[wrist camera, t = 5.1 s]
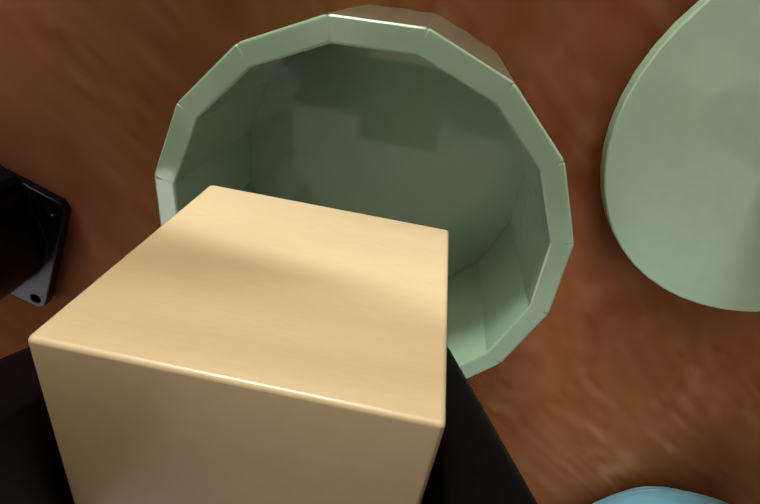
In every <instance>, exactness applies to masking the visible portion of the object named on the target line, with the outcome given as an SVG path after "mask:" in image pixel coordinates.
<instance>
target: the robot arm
mask: <svg viewBox="0 0 760 504" xmlns="http://www.w3.org/2000/svg"><path fill="white" fill-rule="evenodd" d="M55 206H56V207H57V208H58V210H59V211H58V210H57V209H56V208H55ZM70 214H71V208H70V205H69V203H68V202H67V201H66V200H65V199H63V198H62V197H60V196H58V195H56V194H54V193H53V192H51V191H49V190H47V189H45V188H43V187H41V186H39V185H37V184H35V183H33V182H31V181H30V180H28V179H26V178H24V177H22V176H20V175H18V174H16V173H14V172H12V171H10V170H8V169H7V168H5V167H3V166H1V165H0V300H1V299H3V298H4V297H5V296H7V295H8V294H11V295H14V296H16V297H18V298H20V299H22V300H24V301H26V302H28V303H30V304H32V305H34V306H37V307H43V306H45V305H46V304H47V303H48V302H50V301H51V299H52V295H53V290H54V286H55V281H56V277H57V272H58V268H59V263H60V259H61V254H62V250H63V245H64V241H65V236H66V232H67V227H68V223H69V218H70ZM0 504H74V501H73V497H72V494H71V490H70V487H69V483H68V480H67V476H66V473H65V469H64V466H63V462H62V459H61V455H60V452H59V448H58V445H57V441H56V438H55V434H54V431H53V427H52V424H51V420H50V417H49V413H48V410H47V406H46V403H45V399H44V396H43V392H42V389H41V385H40V382H39V378H38V375H37V371H36V368H35V364H34V361H33V357H32V354H31V350H30V347H28V348H26V349H23V350H21V351H19V352H16V353H14V354H11V355H9V356H7V357H4V358H2V359H0ZM421 504H537V502H536V500H535V499H534V497H533V495H532V493H531V492H530V490H529V488H528V486H527V485H526V483H525V481H524V479H523V477H522V476H521V474H520V472H519V470H518V469H517V467H516V465H515V463H514V462H513V460H512V458H511V456H510V455H509V453H508V451H507V449H506V448H505V446H504V444H503V442H502V441H501V439H500V437H499V435H498V434H497V432H496V430H495V428H494V426H493V425H492V423H491V421H490V419H489V418H488V416H487V414H486V412H485V411H484V409H483V407H482V405H481V404H480V402H479V400H478V398H477V397H476V395H475V393H474V391H473V390H472V388H471V386H470V384H469V383H468V381H467V379H466V377H465V375H464V374H463V372H462V370H461V368H460V367H459V365H458V363H457V361H456V360H455V358H454V356H453V354H452V353H451V351H450V349H449V348H448V347H447V375H446V426H445V429H444V432H443V435H442V438H441V442H440V445H439V448H438V451H437V454H436V457H435V461H434V464H433V467H432V470H431V473H430V476H429V480H428V483H427V486H426V489H425V492H424V496H423V499H422V502H421Z"/></svg>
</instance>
